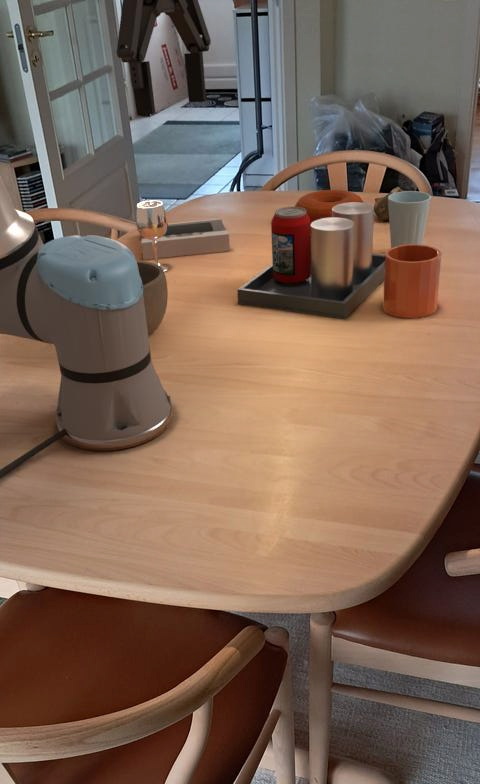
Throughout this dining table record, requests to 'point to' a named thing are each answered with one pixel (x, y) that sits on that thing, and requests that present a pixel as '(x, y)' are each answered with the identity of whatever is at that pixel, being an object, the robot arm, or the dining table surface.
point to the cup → (408, 217)
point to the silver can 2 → (359, 236)
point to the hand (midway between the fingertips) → (173, 108)
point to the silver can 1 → (332, 258)
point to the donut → (325, 202)
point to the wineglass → (152, 223)
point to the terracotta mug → (411, 280)
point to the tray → (306, 293)
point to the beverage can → (291, 245)
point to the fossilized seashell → (384, 205)
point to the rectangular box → (189, 239)
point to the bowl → (153, 293)
